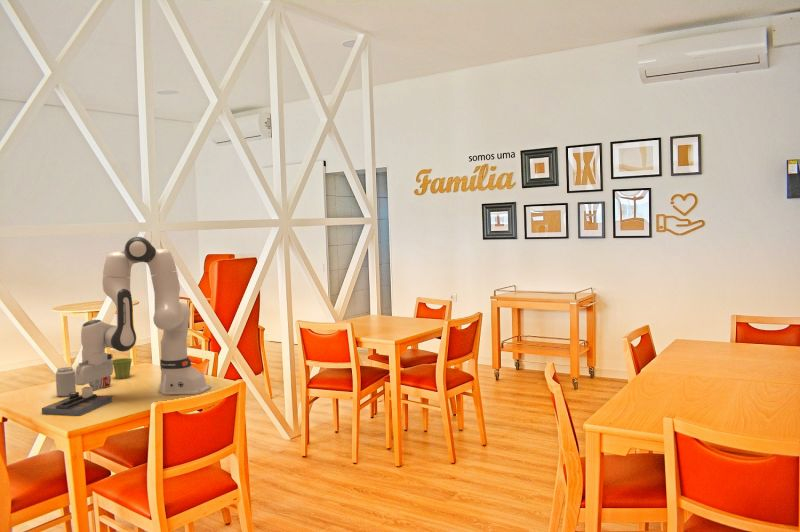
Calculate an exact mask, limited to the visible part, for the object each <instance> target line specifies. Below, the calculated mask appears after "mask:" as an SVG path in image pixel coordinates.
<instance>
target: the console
mask: <svg viewBox="0 0 800 532" xmlns="http://www.w3.org/2000/svg"><path fill="white" fill-rule="evenodd" d="M112 402H113V396H112V395H97V394H96V393H95V394H94V393H93V395H92V396H90V397H87V398H82V394H80V392H79V391H76V392H71V393H69V396H68V397H67V398H65V399H61V400H58V401H57V402H53V403H51V404H48V405H46V406H44V407H41V414H42V415H53V416H54V415H55V416H56V415H58V416H78V417H81V416H83V415H85V414H87V413H90V412H92V411H94V410H96V409H99V408H101V407H104V406H105V405H107V404H110V403H112Z"/></svg>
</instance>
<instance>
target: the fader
mask: <svg viewBox="0 0 800 532" xmlns="http://www.w3.org/2000/svg"><path fill="white" fill-rule="evenodd" d="M93 394H94V391H93V387H90V386H84V387H82V388H81V395H82V398H87V397H90V396H92V395H93Z"/></svg>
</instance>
